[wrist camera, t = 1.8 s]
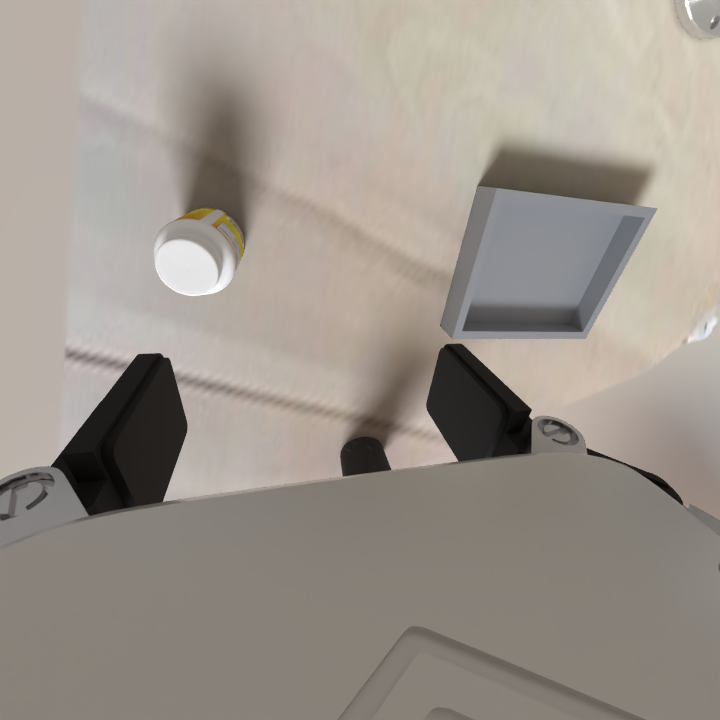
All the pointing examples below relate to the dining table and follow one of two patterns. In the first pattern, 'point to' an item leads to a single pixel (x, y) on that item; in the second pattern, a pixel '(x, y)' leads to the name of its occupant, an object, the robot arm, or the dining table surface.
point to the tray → (538, 264)
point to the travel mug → (363, 457)
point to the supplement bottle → (199, 252)
